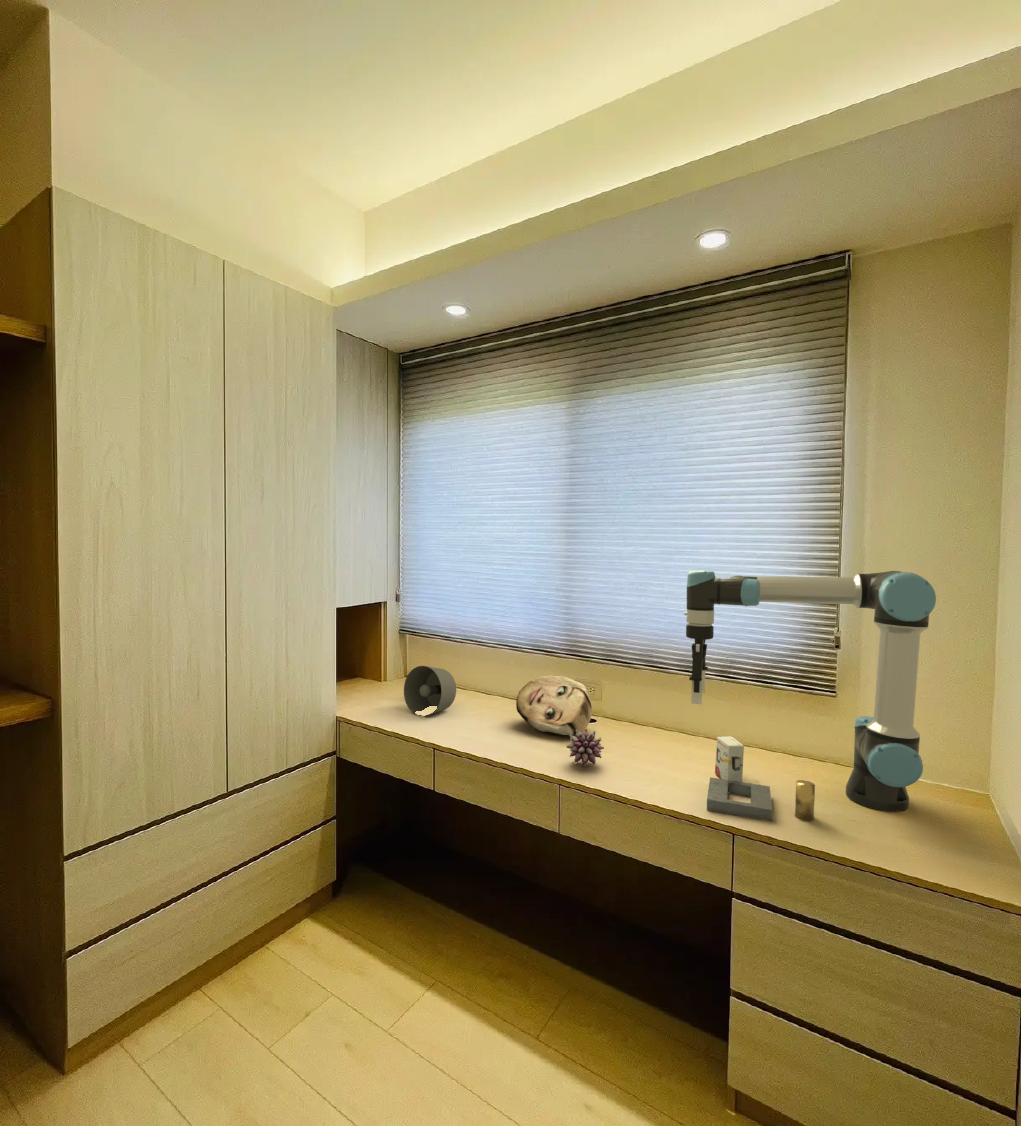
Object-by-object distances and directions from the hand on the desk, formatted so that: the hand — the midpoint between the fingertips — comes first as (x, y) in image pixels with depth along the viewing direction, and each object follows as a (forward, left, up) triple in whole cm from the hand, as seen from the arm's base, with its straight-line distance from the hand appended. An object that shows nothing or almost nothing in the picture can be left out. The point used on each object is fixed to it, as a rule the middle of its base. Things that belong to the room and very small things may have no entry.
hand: (698, 697), depth 169 cm
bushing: (-28, +6, -27) cm, 39 cm away
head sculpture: (+55, -36, -27) cm, 71 cm away
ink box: (-9, -13, -27) cm, 31 cm away
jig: (-12, +4, -27) cm, 30 cm away
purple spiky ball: (+34, -6, -27) cm, 44 cm away
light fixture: (+110, -44, -27) cm, 121 cm away
